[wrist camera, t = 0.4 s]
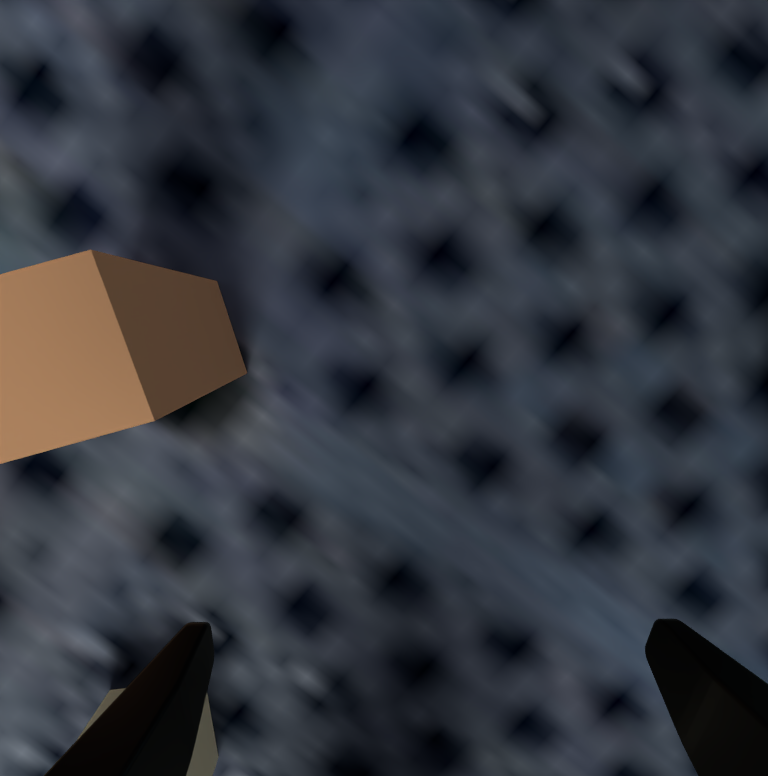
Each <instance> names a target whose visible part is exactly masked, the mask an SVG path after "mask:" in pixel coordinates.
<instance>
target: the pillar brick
mask: <svg viewBox="0 0 768 776" xmlns="http://www.w3.org/2000/svg"><path fill="white" fill-rule="evenodd" d="M245 374H247V371H246V368H245V365H244V362H243V359H242V356H241V353H240V349H239V346H238V343H237V340H236V337H235V334H234V331H233V328H232V325H231V322H230V319H229V316H228V313H227V310H226V307H225V304H224V301H223V298H222V295H221V292H220V289H219V286H218V283H217V281H214V280H210V279H206V278H202V277H198V276H194V275H190V274H186V273H182V272H178V271H174V270H170V269H166V268H162V267H158V266H154V265H150V264H146V263H142V262H138V261H134V260H130V259H126V258H122V257H118V256H114V255H110V254H106V253H102V252H98V251H94V250H88V251H84V252H81V253H77V254H73V255H70V256H66V257H62V258H59V259H55V260H51V261H48V262H44V263H40V264H37V265H33V266H29V267H26V268H22V269H18V270H15V271H11V272H7V273H4V274H0V464H1V463H5V462H8V461H12V460H16V459H19V458H23V457H26V456H30V455H34V454H37V453H41V452H44V451H48V450H52V449H55V448H59V447H62V446H66V445H70V444H73V443H77V442H80V441H84V440H88V439H91V438H95V437H98V436H102V435H106V434H109V433H113V432H116V431H120V430H124V429H127V428H131V427H134V426H138V425H142V424H145V423H149V422H152V421H155V420H157V419H159V418H161V417H163V416H165V415H167V414H169V413H171V412H173V411H175V410H177V409H179V408H181V407H183V406H184V405H186V404H188V403H190V402H192V401H194V400H196V399H198V398H200V397H202V396H204V395H206V394H208V393H210V392H212V391H214V390H216V389H217V388H219V387H221V386H223V385H225V384H227V383H229V382H231V381H233V380H235V379H237V378H239V377H241V376H243V375H245Z"/></svg>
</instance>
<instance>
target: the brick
mask: <svg viewBox="0 0 768 776" xmlns="http://www.w3.org/2000/svg"><path fill="white" fill-rule="evenodd" d="M125 689H126V688H123V689H114V690H110V691H109V692H108V694H107V695H106V697H105V698H104V700H103V701H102V703H101V704H100V706H99V707H98V709H97V710H96V712H95V713H94V715H93V716H92V718H91V720H90V721H89V723H88V724H87V726H86V727H85V729H84V730H83V732H82V733H81V735H80V736H79V738H80V737H81V736H82V734H83V733H84V732H85V731H86V730H87V729H88V728H89V727H90V726H91V725H92V724H93V723H94V722H95V721H96V720H97V718H98V717H99V716H100V715H101V714H102V713H103V712H104V711H105V710H106V709H107V708H108V707H109V706H110V705H111V704H112V702H113V701H114V700H115V699H116V698H117V697H118V696H119V695H120V694H121V693H122V692H123V691H124V690H125ZM79 738H78V739H79ZM78 739H77V740H78ZM217 760H218V752H217V746H216V740H215V735H214V729H213V723H212V718H211V712H210V706H209V701H208V695H207V694H206V698H205V702H204V707H203V711H202V716H201V720H200V724H199V729H198V733H197V738H196V742H195V746H194V750H193V754H192V758H191V761H190V765H189V768H188V771H187V774H186V776H213V772H214V769H215V766H216V763H217Z"/></svg>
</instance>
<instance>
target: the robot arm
mask: <svg viewBox="0 0 768 776" xmlns="http://www.w3.org/2000/svg"><path fill="white" fill-rule="evenodd" d="M645 654H646V658H647V661H648V663H649V666H650V668H651V670H652V673H653V675H654V678H655V680H656V683H657V685H658V687H659V690H660V692H661V695H662V697H663V699H664V702H665V704H666V707H667V709H668V711H669V714H670V716H671V719H672V721H673V723H674V726H675V728H676V730H677V733H678V735H679V737H680V739H681V742H682V744H683V746H684V748H685V750H686V752H687V754H688V756H689V758H690V760H691V762H692V764H693V766H694V768H695V770H696V772H697V774H698V776H768V684H767V683H766V682H765V681H763V680H762V679H760V678H759V677H758V676H756V675H755V674H754V673H752V672H751V671H749V670H748V669H747V668H745V667H744V666H742V665H741V664H740V663H738V662H737V661H736V660H734V659H733V658H731V657H730V656H729V655H727V654H726V653H724V652H723V651H722V650H720V649H719V648H718V647H716V646H715V645H713V644H712V643H711V642H709V641H708V640H706V639H705V638H704V637H702V636H701V635H699V634H698V633H697V632H695V631H694V630H693V629H691V628H690V627H688V626H687V625H686V624H684V623H683V622H681V621H679V620H677V619H657V620H656V621H655V622H654V624H653V627H652V629H651V632H650V635H649V637H648V640H647V643H646V646H645ZM213 662H214V646H213V639H212V631H211V626H210V624H209V623H208V622H190V623H188V624H186V625H185V626H184V627H183V628H182V629H181V630H180V631H179V632H178V633H177V634H176V635H175V636H174V637H173V638H172V639H171V641H170V642H169V643H168V644H167V645H166V646H165V647H164V648H163V649H162V650H161V651H160V652H159V653H158V654H157V655H156V657H155V658H154V659H153V660H152V661H151V662H150V663H149V664H148V665H147V666H146V667H145V668H144V669H143V670H142V671H141V673H140V674H139V675H138V676H137V677H136V678H135V679H134V680H133V681H132V682H131V683H130V684H129V685H128V686H127V687H126V689H125V690H124V691H123V692H122V693H121V694H120V695H119V696H118V697H117V698H116V699H115V700H114V701H113V702H112V704H111V705H110V706H109V707H108V708H107V709H106V710H105V711H104V712H103V713H102V714H101V715H100V716H99V717H98V718H97V720H96V721H95V722H94V723H93V724H92V725H91V726H90V727H89V728H88V729H87V730H86V731H85V732H84V733H83V734H82V736H81V737H80V738H79V739H78V740H77V741H76V742H75V743H74V744H73V745H72V746H71V747H70V748H69V749H68V751H67V752H66V753H65V754H64V755H63V756H62V757H61V758H60V759H59V760H58V761H57V762H56V763H55V764H54V765H53V767H52V768H51V769H50V770H49V771H48V772H47V773H46V774H45V775H44V776H186V774H187V771H188V768H189V765H190V761H191V758H192V754H193V750H194V746H195V742H196V738H197V733H198V729H199V724H200V720H201V716H202V711H203V707H204V702H205V698H206V694H207V689H208V685H209V680H210V676H211V672H212V667H213Z"/></svg>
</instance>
